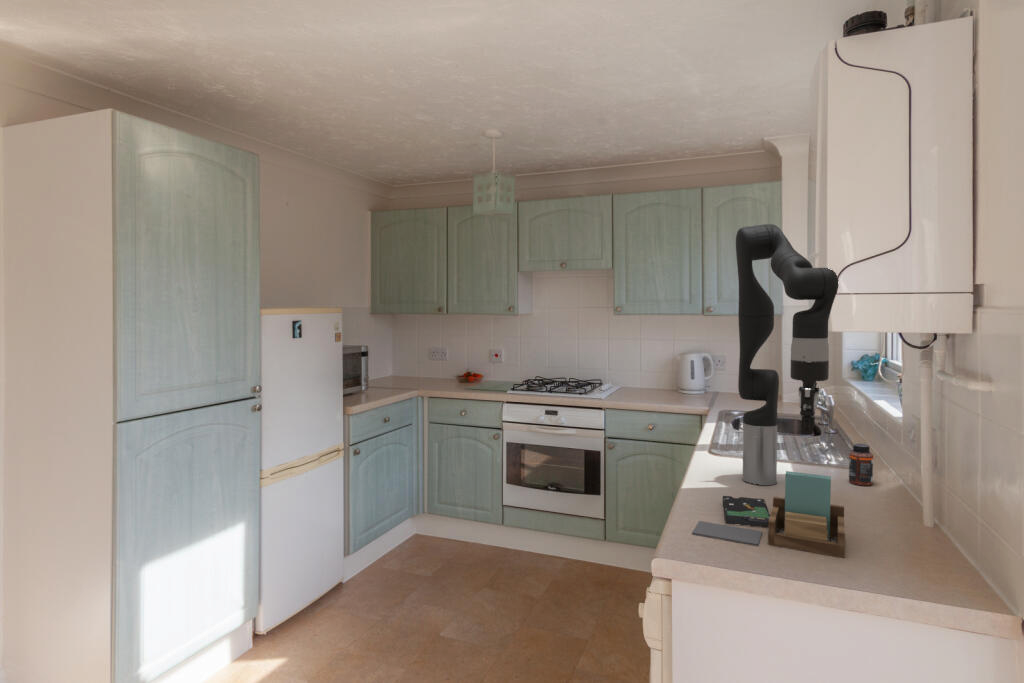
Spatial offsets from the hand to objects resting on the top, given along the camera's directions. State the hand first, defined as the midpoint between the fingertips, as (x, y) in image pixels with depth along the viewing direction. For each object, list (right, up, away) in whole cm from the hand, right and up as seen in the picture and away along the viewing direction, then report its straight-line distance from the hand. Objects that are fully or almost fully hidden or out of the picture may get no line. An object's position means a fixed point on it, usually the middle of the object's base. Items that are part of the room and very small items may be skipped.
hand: (808, 430), depth 128 cm
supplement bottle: (+35, -22, +38) cm, 56 cm away
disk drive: (-8, -24, +15) cm, 29 cm away
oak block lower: (-2, -25, -3) cm, 25 cm away
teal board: (0, -24, +1) cm, 24 cm away
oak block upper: (-2, -22, -3) cm, 22 cm away
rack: (-1, -24, -1) cm, 24 cm away
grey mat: (-17, -24, +3) cm, 30 cm away
